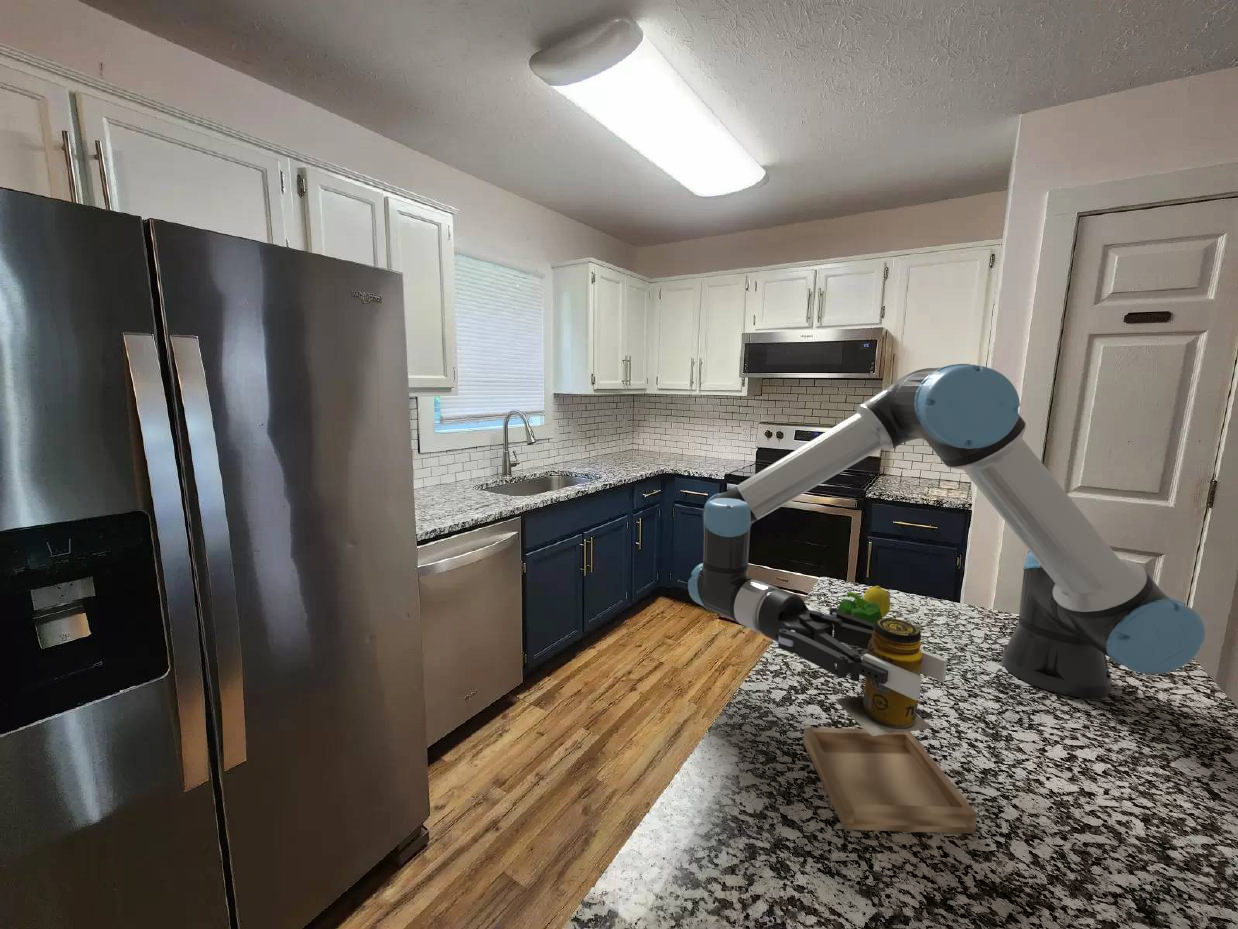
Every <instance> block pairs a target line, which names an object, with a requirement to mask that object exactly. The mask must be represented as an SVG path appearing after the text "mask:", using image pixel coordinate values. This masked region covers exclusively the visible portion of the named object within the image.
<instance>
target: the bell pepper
mask: <svg viewBox="0 0 1238 929" xmlns="http://www.w3.org/2000/svg"><path fill="white" fill-rule="evenodd" d="M846 595H847V597H848V598H849V597H853V598H855V599H854V600H850V599H848V598H847V599H846V598H842V600H841V602H840V603H839V605H838V607H837V608H836V609H838V610H839V611H841V612H843V613H845V614H848V615H851V616H854V617H857V618H859V619H862V620H865V621H868V622H871V623H875V621H876V620H877V619H881V618H882V615H881V612H880V608H879V606H878V604H874V603H869V602H867V601H866V600H864V599H863V598H862V597H861V596H860V595H859V594H858V593H856V592H852V591H848V592H846Z"/></svg>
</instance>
